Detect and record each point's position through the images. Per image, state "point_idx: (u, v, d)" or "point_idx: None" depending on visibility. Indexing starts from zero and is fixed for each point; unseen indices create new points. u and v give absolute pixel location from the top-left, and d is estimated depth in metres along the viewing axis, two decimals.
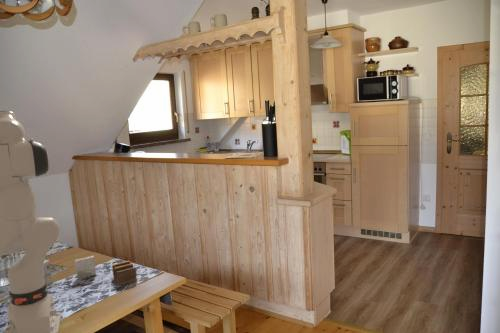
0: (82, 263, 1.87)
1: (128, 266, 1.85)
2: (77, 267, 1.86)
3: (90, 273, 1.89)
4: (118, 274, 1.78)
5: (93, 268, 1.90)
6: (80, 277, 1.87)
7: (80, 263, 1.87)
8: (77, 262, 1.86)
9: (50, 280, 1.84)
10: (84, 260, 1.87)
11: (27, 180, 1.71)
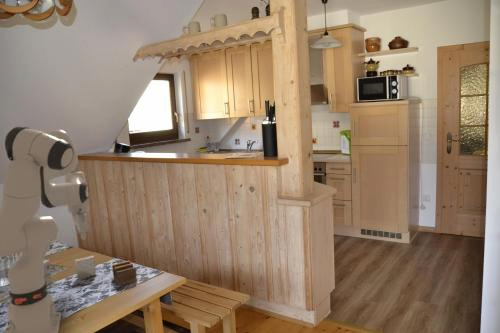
0: (82, 263, 1.87)
1: (128, 266, 1.85)
2: (77, 267, 1.86)
3: (90, 273, 1.89)
4: (118, 274, 1.78)
5: (93, 268, 1.90)
6: (80, 277, 1.87)
7: (80, 263, 1.87)
8: (77, 262, 1.86)
9: (50, 280, 1.84)
10: (84, 260, 1.87)
11: None
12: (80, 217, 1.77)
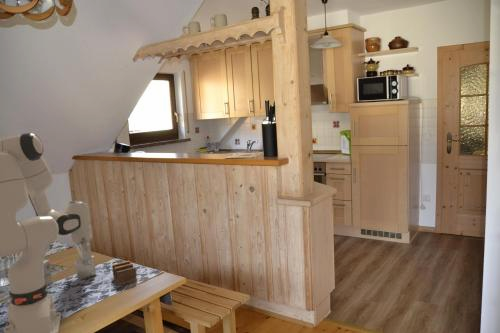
0: (82, 263, 1.87)
1: (128, 266, 1.85)
2: (77, 267, 1.86)
3: (90, 273, 1.89)
4: (118, 274, 1.78)
5: (93, 268, 1.90)
6: (80, 277, 1.87)
7: (80, 263, 1.87)
8: (77, 262, 1.86)
9: (50, 280, 1.84)
10: None
11: None
12: (83, 247, 1.79)
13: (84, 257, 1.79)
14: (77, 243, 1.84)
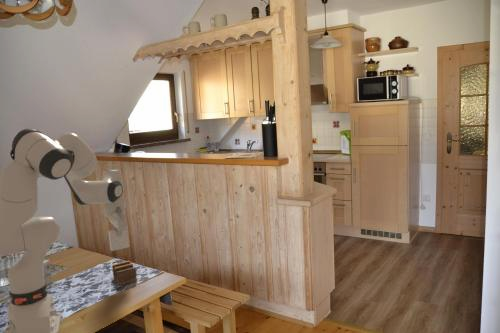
0: (116, 234, 1.82)
1: (128, 266, 1.85)
2: (111, 238, 1.81)
3: (123, 244, 1.84)
4: (118, 274, 1.78)
5: (126, 239, 1.85)
6: (114, 248, 1.82)
7: (114, 234, 1.81)
8: (111, 232, 1.81)
9: (50, 280, 1.84)
10: None
11: None
12: (119, 215, 1.73)
13: (120, 226, 1.73)
14: (111, 213, 1.79)
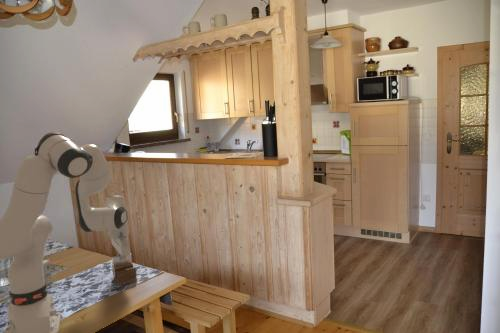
0: (119, 260, 1.84)
1: (128, 266, 1.85)
2: (114, 264, 1.83)
3: None
4: (118, 274, 1.78)
5: None
6: None
7: (117, 260, 1.83)
8: (114, 259, 1.83)
9: (50, 280, 1.84)
10: None
11: None
12: (122, 241, 1.75)
13: (123, 252, 1.75)
14: (115, 238, 1.81)
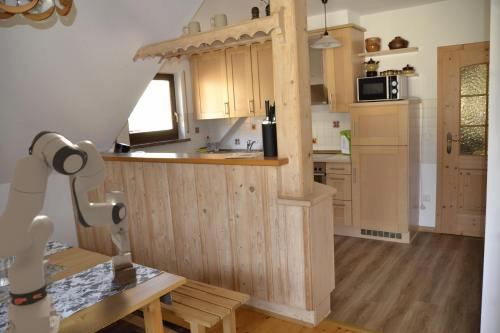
0: (119, 260, 1.84)
1: (128, 266, 1.85)
2: (114, 264, 1.83)
3: None
4: (118, 274, 1.78)
5: None
6: None
7: (117, 260, 1.84)
8: (114, 259, 1.83)
9: (50, 280, 1.84)
10: (121, 257, 1.85)
11: None
12: (122, 237, 1.75)
13: (123, 248, 1.75)
14: (114, 233, 1.81)
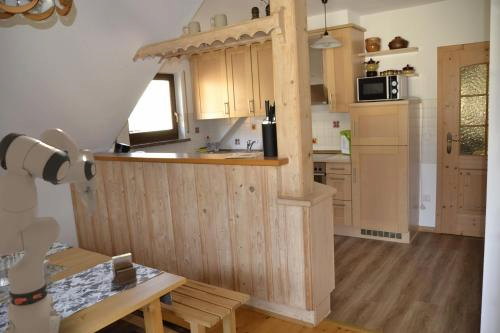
0: (119, 260, 1.84)
1: (128, 266, 1.85)
2: (114, 264, 1.83)
3: None
4: (118, 274, 1.78)
5: None
6: None
7: (117, 260, 1.83)
8: (114, 259, 1.83)
9: (50, 280, 1.84)
10: (121, 257, 1.84)
11: None
12: (88, 195, 1.73)
13: (89, 206, 1.73)
14: (82, 193, 1.78)
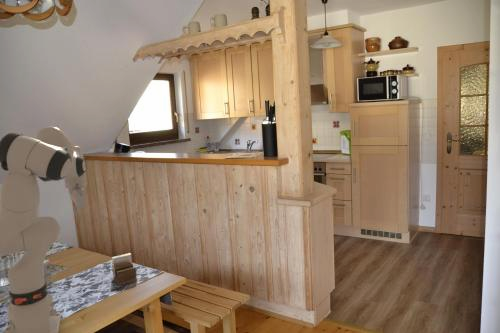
0: (119, 260, 1.84)
1: (128, 266, 1.85)
2: (114, 264, 1.83)
3: None
4: (118, 274, 1.78)
5: None
6: None
7: (117, 260, 1.83)
8: (114, 259, 1.83)
9: (50, 280, 1.84)
10: (121, 257, 1.84)
11: None
12: (77, 191, 1.73)
13: (78, 202, 1.73)
14: (71, 189, 1.78)
